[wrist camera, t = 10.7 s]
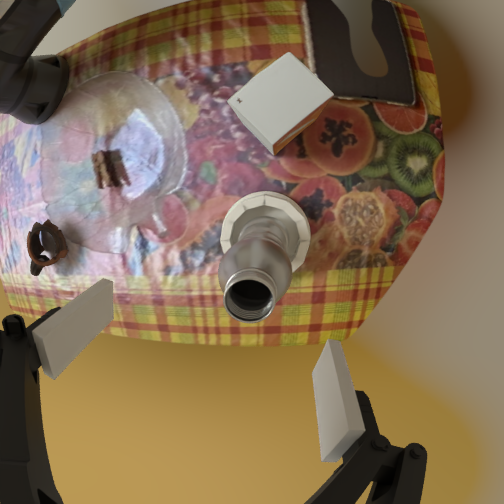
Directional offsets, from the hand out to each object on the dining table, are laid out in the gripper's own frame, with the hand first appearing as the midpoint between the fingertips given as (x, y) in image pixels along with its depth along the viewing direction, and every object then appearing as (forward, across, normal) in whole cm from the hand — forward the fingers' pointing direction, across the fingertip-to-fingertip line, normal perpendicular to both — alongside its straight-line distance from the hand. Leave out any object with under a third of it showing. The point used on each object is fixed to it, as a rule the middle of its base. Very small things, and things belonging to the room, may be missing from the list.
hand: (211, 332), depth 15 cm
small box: (+25, 0, +16) cm, 30 cm away
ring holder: (+25, +2, 0) cm, 25 cm away
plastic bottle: (+24, +2, 0) cm, 24 cm away
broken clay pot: (+26, -38, -11) cm, 47 cm away
